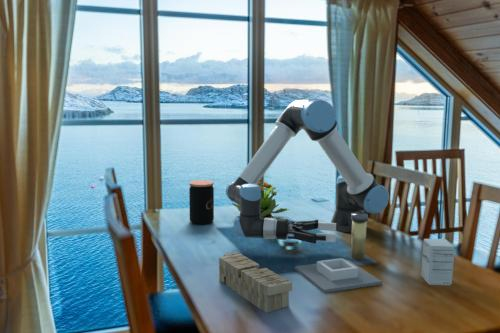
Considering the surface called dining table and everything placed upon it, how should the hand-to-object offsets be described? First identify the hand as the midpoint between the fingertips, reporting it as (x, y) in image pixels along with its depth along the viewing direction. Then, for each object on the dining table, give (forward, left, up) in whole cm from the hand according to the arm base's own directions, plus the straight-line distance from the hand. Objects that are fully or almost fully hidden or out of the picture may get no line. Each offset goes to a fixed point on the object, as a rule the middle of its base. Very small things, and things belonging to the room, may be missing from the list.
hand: (336, 232), depth 172 cm
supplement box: (-19, +30, -9) cm, 36 cm away
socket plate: (+9, +17, -9) cm, 21 cm away
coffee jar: (+34, -58, -9) cm, 68 cm away
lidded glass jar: (-7, +4, -9) cm, 12 cm away
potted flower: (+6, -56, -9) cm, 57 cm away
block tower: (+39, +19, -9) cm, 44 cm away
